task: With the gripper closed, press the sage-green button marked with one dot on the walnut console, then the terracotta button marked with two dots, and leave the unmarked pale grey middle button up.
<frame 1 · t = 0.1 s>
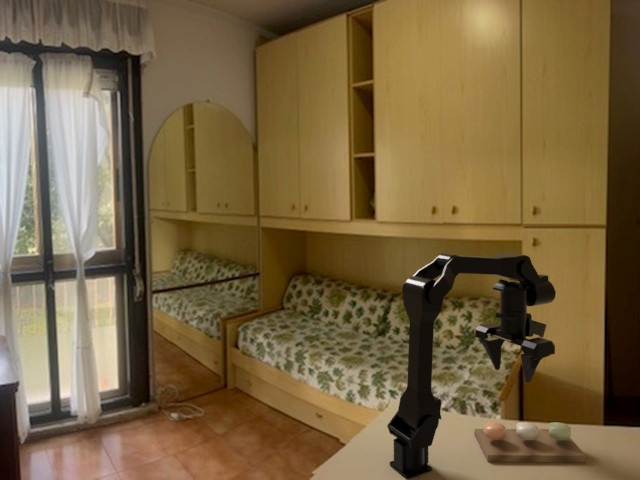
hand: (512, 375, 122), 14 cm above the table, fingers open, 9 cm apart
grey button: (527, 431, 117), point 4 cm above the table, slide at 0.0 cm
sage button: (559, 431, 116), point 4 cm above the table, slide at 0.0 cm
console: (526, 448, 117), on the table
terracotta button: (494, 431, 117), point 4 cm above the table, slide at 0.0 cm
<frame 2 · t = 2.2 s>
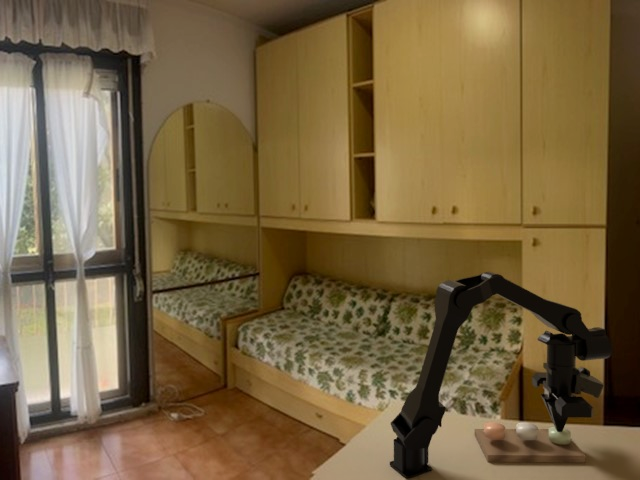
hand: (559, 431, 116), 4 cm above the table, fingers closed, pressing on sage button
sage button: (559, 435, 117), point 3 cm above the table, slide at 1.0 cm, touching gripper
everything else where it was.
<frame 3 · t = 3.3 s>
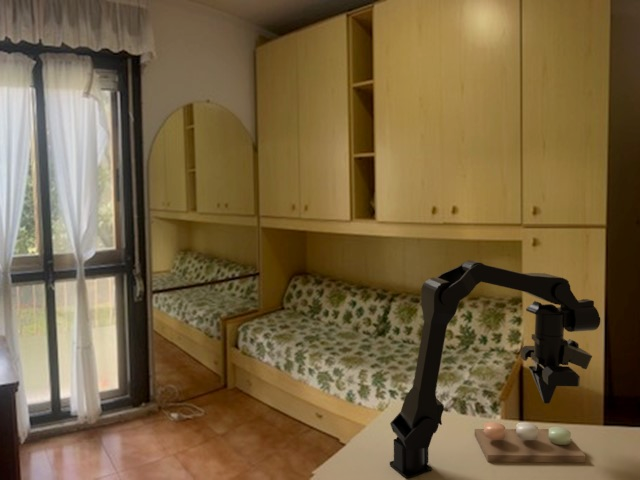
hand: (546, 402, 116), 10 cm above the table, fingers closed
sage button: (559, 435, 117), point 3 cm above the table, slide at 1.0 cm
everything else where it was.
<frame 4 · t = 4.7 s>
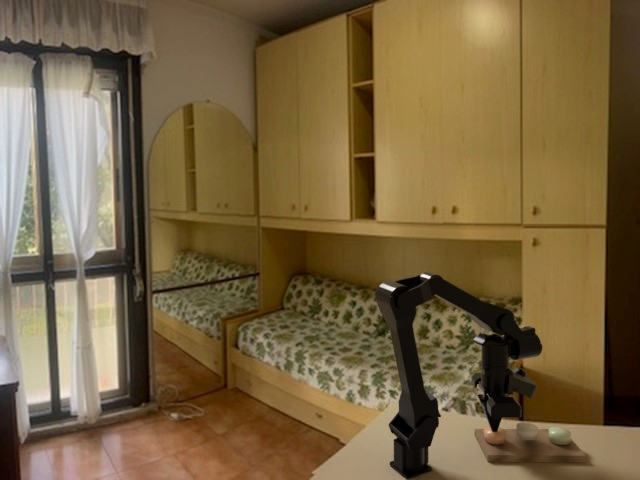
hand: (494, 431, 117), 4 cm above the table, fingers closed, pressing on terracotta button
terracotta button: (494, 435, 117), point 3 cm above the table, slide at 1.0 cm, touching gripper
everything else where it was.
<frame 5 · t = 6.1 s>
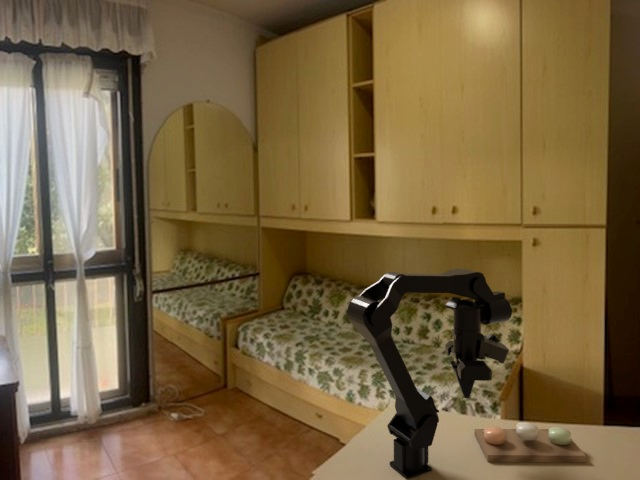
hand: (466, 397, 116), 12 cm above the table, fingers closed
terracotta button: (494, 435, 117), point 3 cm above the table, slide at 1.0 cm
everything else where it was.
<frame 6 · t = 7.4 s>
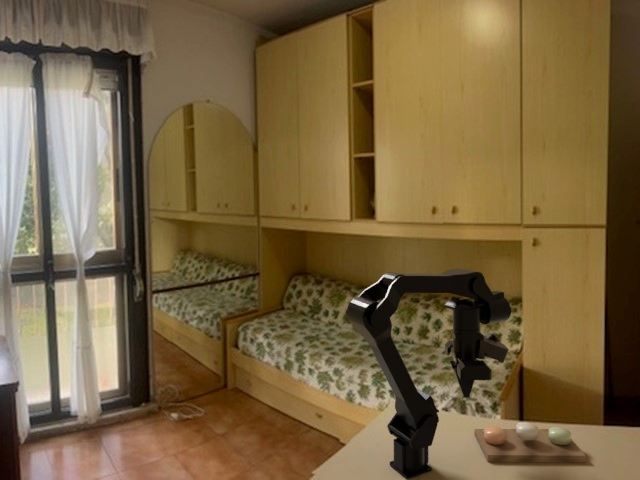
hand: (466, 397, 116), 12 cm above the table, fingers closed
nothing on the table moved.
at the end: sage button slide at 1.0 cm; terracotta button slide at 1.0 cm; grey button slide at 0.0 cm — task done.
